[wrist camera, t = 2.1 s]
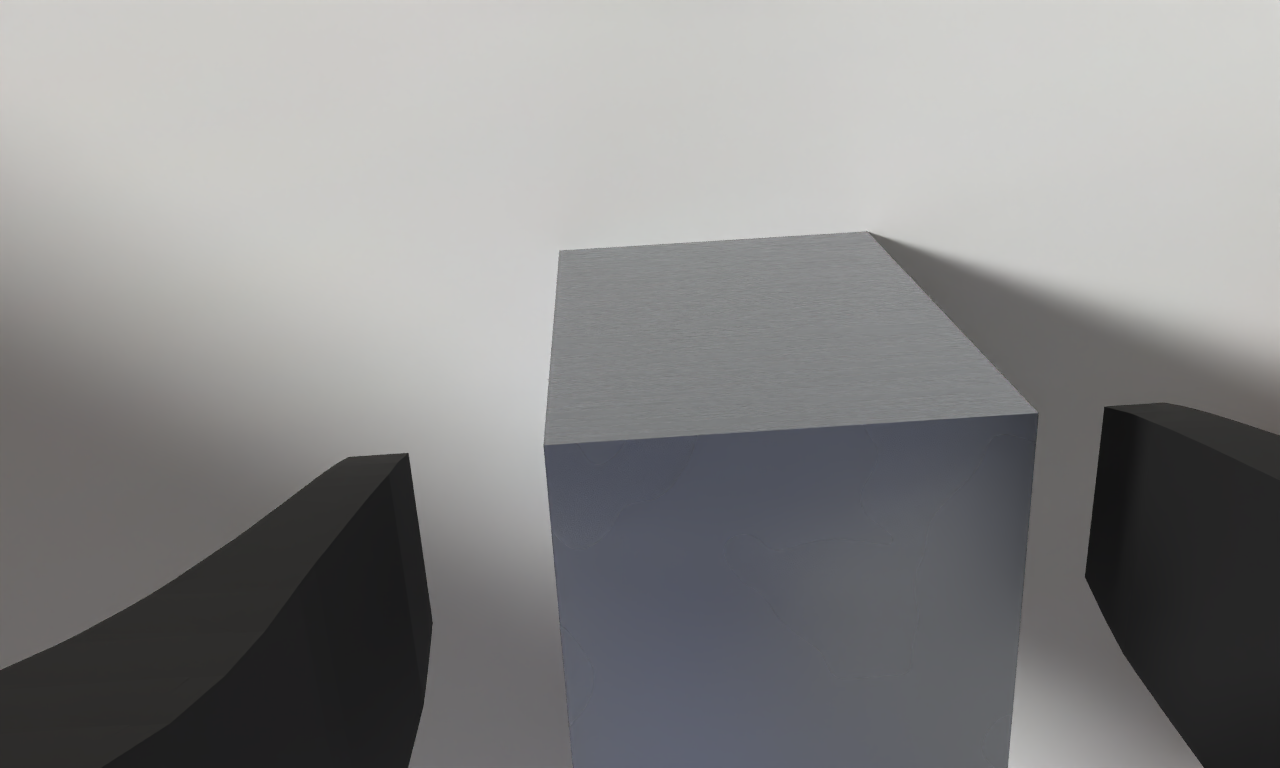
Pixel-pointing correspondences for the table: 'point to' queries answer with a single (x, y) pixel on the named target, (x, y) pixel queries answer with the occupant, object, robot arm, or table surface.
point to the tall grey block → (781, 511)
